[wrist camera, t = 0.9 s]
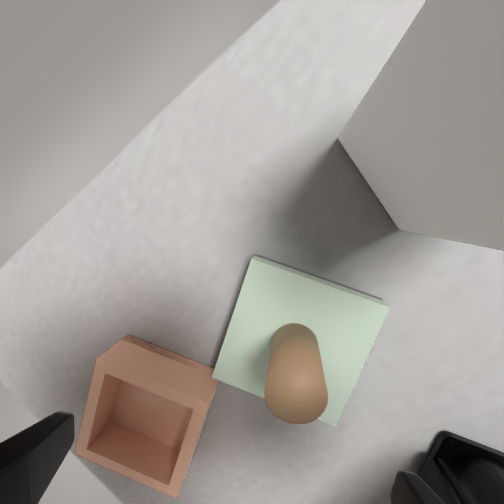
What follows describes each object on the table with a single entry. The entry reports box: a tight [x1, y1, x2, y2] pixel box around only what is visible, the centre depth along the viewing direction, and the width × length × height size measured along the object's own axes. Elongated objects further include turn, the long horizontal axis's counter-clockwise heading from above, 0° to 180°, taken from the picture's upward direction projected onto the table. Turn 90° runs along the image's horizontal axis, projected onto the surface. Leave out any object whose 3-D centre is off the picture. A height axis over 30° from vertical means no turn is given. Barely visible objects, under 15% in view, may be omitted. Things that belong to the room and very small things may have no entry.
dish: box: [75, 335, 219, 499], centre depth 20 cm, size 8×8×4 cm
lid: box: [212, 256, 390, 427], centre depth 16 cm, size 9×9×6 cm
